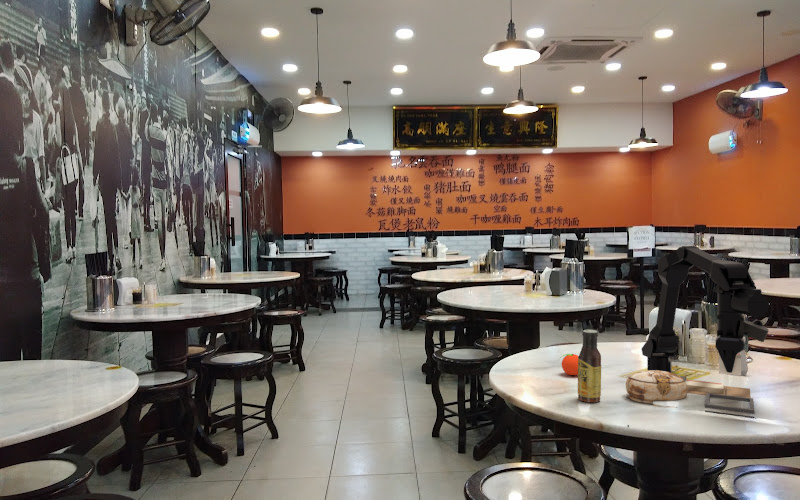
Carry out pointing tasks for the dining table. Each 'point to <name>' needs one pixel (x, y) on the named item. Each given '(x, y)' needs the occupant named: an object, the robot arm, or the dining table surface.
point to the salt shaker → (743, 362)
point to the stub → (736, 366)
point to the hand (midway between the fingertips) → (729, 369)
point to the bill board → (729, 392)
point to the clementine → (570, 364)
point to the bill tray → (729, 406)
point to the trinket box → (655, 386)
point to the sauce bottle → (589, 368)
